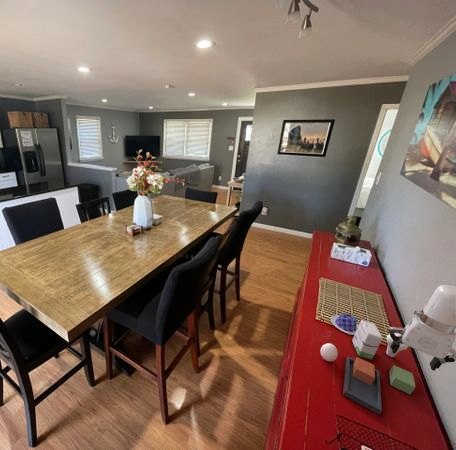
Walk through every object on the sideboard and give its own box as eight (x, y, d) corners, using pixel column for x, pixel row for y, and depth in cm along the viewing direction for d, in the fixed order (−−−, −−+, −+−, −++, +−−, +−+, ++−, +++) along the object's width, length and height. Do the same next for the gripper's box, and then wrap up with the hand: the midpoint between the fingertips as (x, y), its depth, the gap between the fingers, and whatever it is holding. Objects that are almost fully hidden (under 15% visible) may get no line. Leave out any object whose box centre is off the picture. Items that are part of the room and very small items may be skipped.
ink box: (372, 360, 95) (384, 338, 91) (357, 355, 97) (368, 334, 92) (365, 344, 103) (375, 323, 98) (351, 340, 104) (360, 319, 100)
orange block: (370, 372, 90) (374, 365, 88) (370, 385, 85) (374, 377, 84) (353, 364, 93) (356, 356, 91) (352, 376, 88) (356, 368, 87)
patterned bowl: (341, 314, 119) (344, 305, 117) (367, 332, 109) (372, 323, 107) (324, 319, 115) (327, 311, 113) (350, 339, 105) (354, 330, 103)
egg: (317, 351, 99) (322, 337, 96) (332, 356, 97) (338, 342, 94) (319, 362, 94) (325, 348, 91) (335, 367, 92) (342, 353, 89)
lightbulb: (375, 351, 99) (386, 331, 95) (385, 347, 101) (396, 328, 97) (393, 364, 94) (404, 343, 90) (403, 360, 96) (415, 340, 92)
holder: (377, 374, 90) (379, 371, 89) (379, 414, 77) (382, 410, 76) (345, 359, 95) (347, 356, 94) (343, 394, 82) (345, 390, 82)
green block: (408, 380, 88) (412, 373, 86) (410, 394, 83) (415, 387, 82) (389, 372, 91) (393, 364, 89) (390, 385, 86) (395, 377, 85)
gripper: (401, 314, 78) (379, 351, 85) (483, 344, 68) (451, 383, 75) (398, 302, 84) (378, 338, 90) (474, 328, 74) (445, 366, 81)
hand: (411, 358), depth 83 cm, fingers open, 9 cm apart
